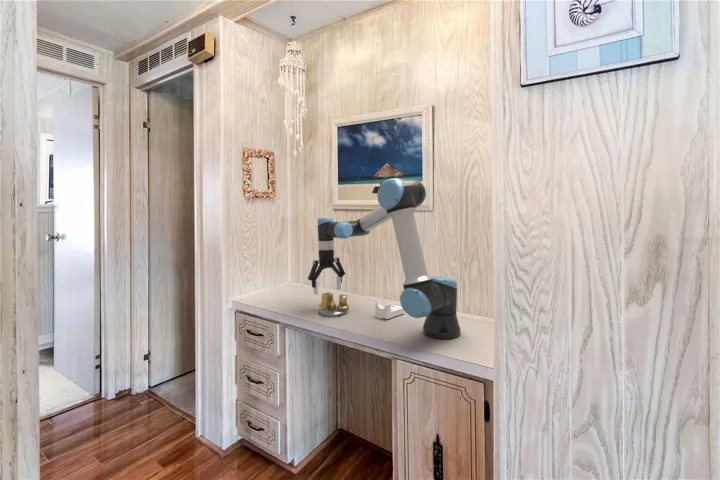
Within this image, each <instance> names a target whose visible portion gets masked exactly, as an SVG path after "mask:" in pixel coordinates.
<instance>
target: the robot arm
mask: <svg viewBox="0 0 720 480" xmlns="http://www.w3.org/2000/svg"><path fill="white" fill-rule="evenodd" d="M376 196H377V202H378V204H379V206H378V207H376V208H374V209H373V210H372V211H370V212H368V213H366V214H365V215H363V216H362V217H359V218H358V219H356V220H350V221H349V220H348V221H347V220H346V221H334V218H333V217H331V216H330V217H329V216H328V217H319V218H318V219H317V239H318V243H317V245H318V260H316V259H313V262H312V266H311V269H310V272H309V275H308V277H307V280H308V281H311V287H312V289H313V294H314V295H319V292H318V290H319V287H318V286H319V285H318V284H319V283H318V280H317V279H319V276H320V275H321V273H322V272H323V271H324V269H330V268H331V269H332V271H333V272H334V273H335V274H336V275H337V276H336V290H338V291H342V283H343V277H344V276H345V275H346V272H345V270H344V267H343V266H342V264H341V261H340V260H341V259H340V257H337V256H336V257H335V250H334V249H335V240H334V239H335V238H336V239H349V238H352V237H363V236H364V237H365V236H367V235H369V234H370V233H371V231H372V230H374V229H376V228H377V227H379V226H381V225H382V224H385V223H386V222H389V220H392V225H393V228H394V234H395V237H396V238H395V239H396V242H397V247H398V250H399V251H398V252H399V254H400V260H401V264H402V268H403V273H404V277H405V279H404V281H403V283H402V287H403V291H402V292H401V295H400V297H399V301H400V306H401V307H402V308H403V310H404V311H405V314H407V315H408V316H409V317H412V318H415V319H420V318H421V319H422V318H425V319H424V324H423V325H422V334H423V335H425V336H427V337H429V338H431V339H437V340H452V339H456V338H459V337H460V336H461V326H460V324H459V320H458V316H457V307H458V306H457V305H458V303H457V302H458V301H457V300H458V299H457V298H458V282H457V280H455V279H454V278H450V277H444V276H431V275H429V274H428V271H427V266H426V262H425V257H424V253H423V249H422V243H421V241H420V240H421V239H420V235H419V231H418V225H417V222H416V218H415V212H416V211H417V208H419V207H420V206H421V205H422V204H423V203H424V201H425V200H426V196H427V190H426V187H425V186H424V184H423V183H422V182H421V181H419V180H418V179H415V178H400V177H394V178H388V179H386V180H383V181H382V183H381V184H380V186H379V188H378V190H377V195H376ZM334 263H335V264H334Z"/></svg>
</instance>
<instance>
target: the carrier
mask: <svg viewBox="0 0 720 480" xmlns="http://www.w3.org/2000/svg"><path fill="white" fill-rule="evenodd" d="M338 300H339V301H338V304H336V301H335V299H333V300H332V302H331V309H329V310H324V309H322V308H319V316H321V317H324V318H340V317H342V316H345V315H347V311H349V310H350V305H349V304H348V295H347V294H345V293H341V294H339V295H338ZM335 304H336V308H335Z"/></svg>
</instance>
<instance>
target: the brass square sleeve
mask: <svg viewBox="0 0 720 480" xmlns="http://www.w3.org/2000/svg"><path fill="white" fill-rule="evenodd" d="M333 298H334V294H333V293H332V292H325V293H321V302H320V303H319V304H318V307H319V309H321V308H322V309H324V310H329V309H331V302H332V300H334V299H333ZM336 306H337V304H336V303H335V308H336Z"/></svg>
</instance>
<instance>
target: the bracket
mask: <svg viewBox="0 0 720 480" xmlns="http://www.w3.org/2000/svg"><path fill="white" fill-rule="evenodd" d="M403 314H406V312H405V311H404V310H403V308H402V306H401V305H397V304H391V303H386V304H385V306H383V304H382V301H381V300H378V301H375V318H377V319H380V320H382V319H385V320H388V319H392V318H395V317H398V316H400V315H403Z"/></svg>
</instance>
